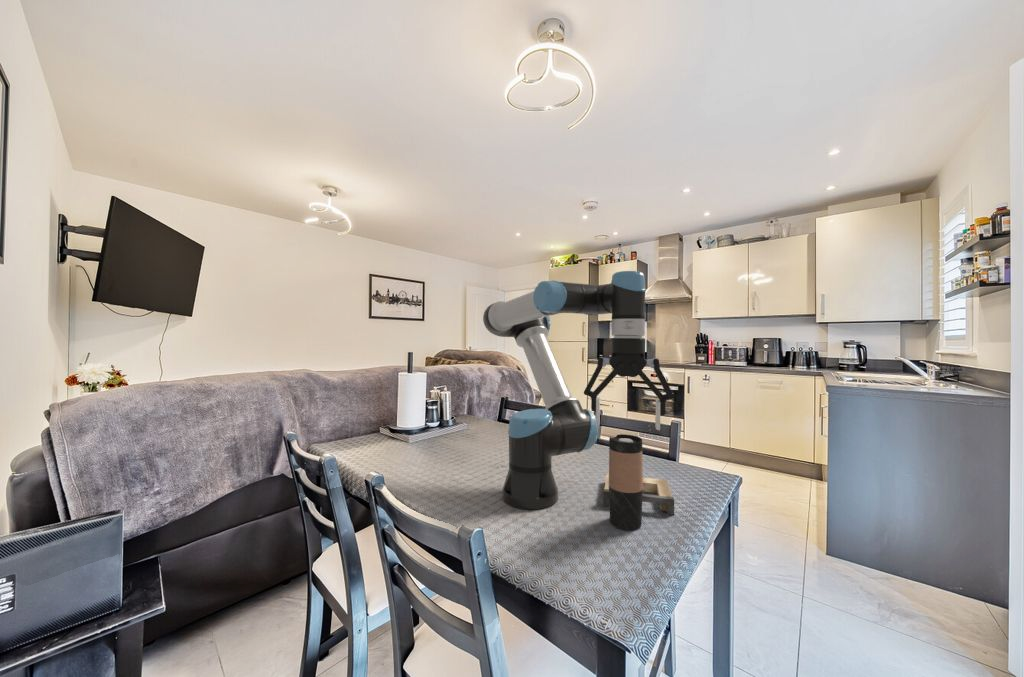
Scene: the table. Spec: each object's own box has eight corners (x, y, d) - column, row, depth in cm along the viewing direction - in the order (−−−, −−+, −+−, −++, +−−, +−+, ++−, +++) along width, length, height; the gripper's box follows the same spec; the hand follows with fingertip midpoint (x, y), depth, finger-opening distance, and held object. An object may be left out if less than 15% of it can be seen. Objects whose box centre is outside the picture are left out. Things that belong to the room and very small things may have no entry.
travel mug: (644, 533, 83) (645, 443, 83) (609, 529, 85) (609, 441, 85) (640, 516, 91) (640, 435, 91) (607, 513, 92) (608, 433, 92)
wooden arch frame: (603, 505, 97) (603, 491, 97) (606, 481, 113) (606, 469, 113) (674, 514, 92) (674, 499, 92) (667, 488, 108) (667, 475, 108)
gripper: (573, 337, 88) (572, 426, 88) (688, 337, 81) (687, 434, 81) (576, 337, 95) (575, 419, 95) (682, 337, 88) (681, 426, 89)
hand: (627, 426), depth 88 cm, fingers open, 13 cm apart
